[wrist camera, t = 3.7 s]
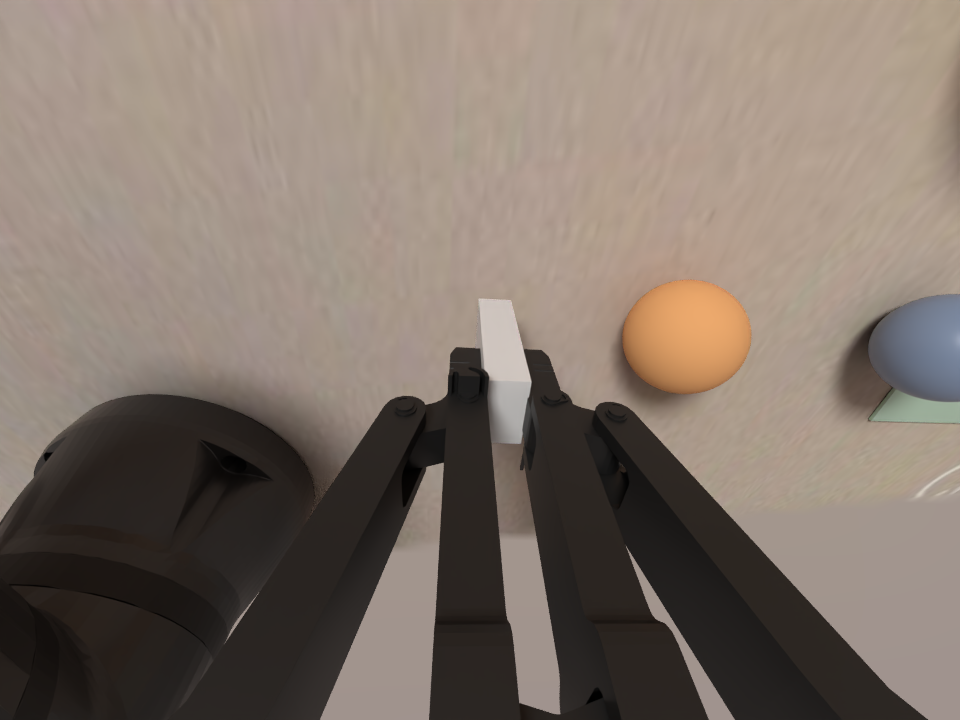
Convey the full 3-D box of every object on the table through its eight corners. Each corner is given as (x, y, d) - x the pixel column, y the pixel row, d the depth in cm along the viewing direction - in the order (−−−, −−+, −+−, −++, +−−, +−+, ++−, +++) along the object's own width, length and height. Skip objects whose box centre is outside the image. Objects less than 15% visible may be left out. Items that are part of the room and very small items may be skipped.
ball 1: (597, 354, 22) (633, 416, 18) (622, 261, 20) (673, 306, 15) (688, 357, 23) (746, 419, 18) (726, 266, 20) (806, 312, 15)
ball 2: (822, 362, 23) (912, 423, 19) (878, 275, 21) (1000, 322, 16) (906, 366, 24) (1013, 426, 19) (972, 280, 21) (1117, 327, 16)
